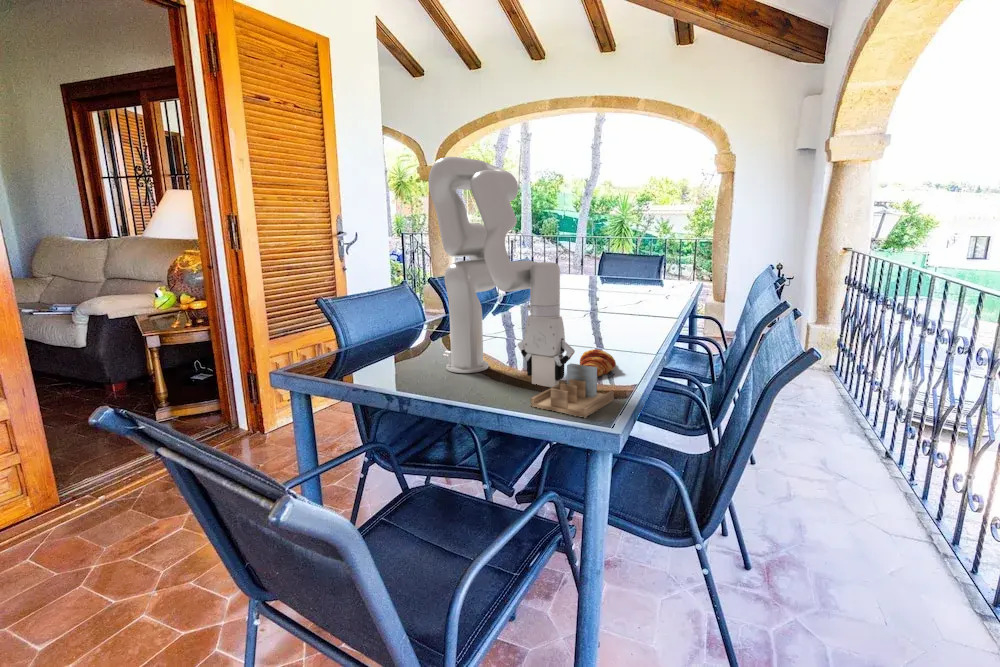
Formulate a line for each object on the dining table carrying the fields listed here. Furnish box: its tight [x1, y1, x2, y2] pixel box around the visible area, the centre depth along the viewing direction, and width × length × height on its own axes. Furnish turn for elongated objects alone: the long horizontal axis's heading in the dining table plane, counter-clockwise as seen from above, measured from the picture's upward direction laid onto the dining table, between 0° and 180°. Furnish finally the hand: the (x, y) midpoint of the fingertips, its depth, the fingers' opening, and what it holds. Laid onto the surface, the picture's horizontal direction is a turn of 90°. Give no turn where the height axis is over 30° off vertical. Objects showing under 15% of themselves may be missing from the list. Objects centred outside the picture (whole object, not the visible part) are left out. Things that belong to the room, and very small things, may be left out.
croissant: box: [579, 348, 617, 377], centre depth 150 cm, size 21×10×8 cm, turn 154°
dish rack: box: [530, 362, 615, 418], centre depth 123 cm, size 14×15×8 cm
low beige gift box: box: [531, 354, 560, 388], centre depth 137 cm, size 7×2×8 cm, turn 54°
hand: (545, 376), depth 138 cm, fingers open, 7 cm apart
